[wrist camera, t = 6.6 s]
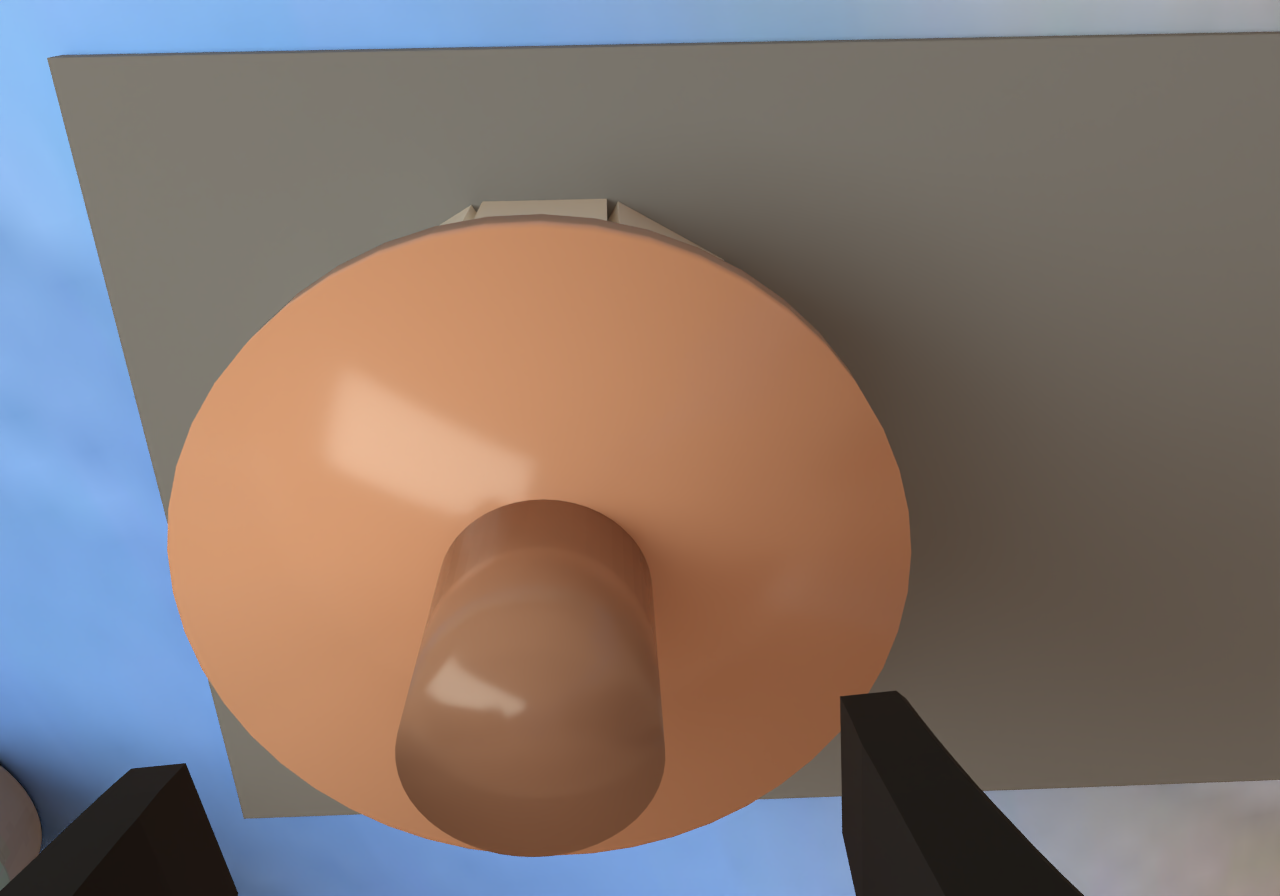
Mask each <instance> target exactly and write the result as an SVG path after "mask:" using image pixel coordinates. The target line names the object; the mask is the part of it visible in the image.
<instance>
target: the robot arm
mask: <svg viewBox="0 0 1280 896" xmlns="http://www.w3.org/2000/svg"><path fill="white" fill-rule="evenodd" d="M840 726H841V782H842V833H843V838H844V842H845V847H846V852H847V856H848V861H849V866H850V870H851V875H852V880H853V884H854V888H855V893H856V896H1084V895H1083V894H1082V893H1081V892H1080V891H1079V890H1078V889H1077V888H1076V887H1074V886H1073V885H1072V884H1071V883H1070V882H1069V881H1068V880H1067V879H1066V878H1065V877H1064V876H1063V875H1062V874H1061V873H1060V872H1059V871H1058V870H1057V869H1056V868H1055V867H1054V866H1053V865H1052V864H1051V863H1050V862H1049V861H1048V860H1047V859H1046V858H1045V857H1044V856H1043V855H1042V854H1041V853H1040V852H1039V851H1038V850H1037V849H1036V848H1035V847H1034V846H1033V845H1032V844H1031V842H1030V841H1029V840H1028V839H1027V838H1026V837H1025V836H1024V835H1023V834H1022V833H1021V832H1020V831H1019V830H1018V829H1017V828H1016V827H1015V825H1014V824H1013V823H1012V822H1011V821H1010V820H1009V819H1008V818H1007V817H1006V816H1005V815H1004V814H1003V813H1002V812H1001V811H1000V810H999V808H998V807H997V806H996V805H995V804H994V803H993V802H992V801H991V800H990V799H989V798H988V796H987V795H986V794H985V793H984V792H983V791H982V790H981V789H980V788H979V786H978V785H977V784H976V783H975V782H974V781H973V780H972V779H971V777H970V776H969V775H968V774H967V773H966V772H965V770H964V769H963V768H962V767H961V766H960V765H959V763H958V762H957V761H956V760H955V759H954V758H953V756H952V755H951V754H950V753H949V752H948V750H947V749H946V748H945V747H944V746H943V744H942V743H941V742H940V741H939V740H938V738H937V737H936V736H935V735H934V733H933V732H932V731H931V730H930V729H929V727H928V726H927V725H926V723H925V722H924V721H923V720H922V718H921V717H920V716H919V715H918V713H917V712H916V711H915V709H914V708H913V707H912V706H911V704H910V703H909V702H908V700H907V699H906V698H905V697H904V696H902V695H901V694H900V693H899V692H897V691H887V692H877V693H867V694H857V695H847V696H840ZM0 896H238V892H237V890H236V887H235V885H234V882H233V880H232V877H231V875H230V872H229V870H228V867H227V865H226V862H225V860H224V857H223V855H222V852H221V850H220V847H219V845H218V842H217V840H216V837H215V835H214V832H213V830H212V828H211V825H210V823H209V820H208V818H207V815H206V813H205V810H204V808H203V805H202V803H201V800H200V798H199V795H198V793H197V790H196V788H195V785H194V783H193V780H192V778H191V775H190V773H189V771H188V768H187V766H186V763H183V764H174V765H164V766H154V767H144V768H135V769H130V770H129V771H128V772H127V773H126V774H125V775H124V776H122V777H121V778H120V779H119V780H118V781H117V782H116V783H114V784H113V785H112V786H111V787H110V788H109V789H108V790H107V791H105V792H104V793H103V794H102V795H101V796H100V797H99V798H98V799H97V800H96V801H95V802H94V803H93V804H91V805H90V806H89V807H88V808H87V809H86V810H85V811H84V812H83V813H82V814H81V815H80V816H79V817H78V818H77V819H75V820H74V821H73V822H72V823H71V824H70V825H69V826H68V827H67V828H66V829H65V830H64V831H63V832H62V833H61V834H60V835H59V836H58V837H57V838H56V839H54V840H53V841H52V842H51V843H50V844H49V845H48V846H47V847H46V848H45V849H44V850H43V851H42V852H41V853H40V854H39V855H38V856H37V857H36V858H35V859H33V860H32V861H31V862H30V863H29V864H28V865H27V866H26V867H25V868H24V869H23V870H22V871H21V872H20V873H19V874H18V875H17V876H15V877H14V878H13V879H12V880H11V881H10V882H9V883H8V884H7V885H6V886H5V887H4V888H3V889H2V890H1V891H0Z"/></svg>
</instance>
